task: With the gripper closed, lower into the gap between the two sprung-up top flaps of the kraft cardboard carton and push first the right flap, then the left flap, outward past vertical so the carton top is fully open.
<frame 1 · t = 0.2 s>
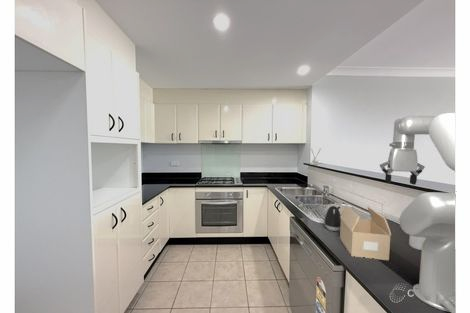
hand: (400, 183, 96), 36 cm above the worktop, tool pointing down, fingers open, 9 cm apart
right flap: (378, 219, 107), point 16 cm above the worktop, hinge at 70.0°
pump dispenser: (332, 229, 133), on the worktop
carton: (361, 248, 110), on the worktop
left flap: (348, 217, 110), point 16 cm above the worktop, hinge at 70.0°
milk bottle: (418, 247, 111), on the worktop
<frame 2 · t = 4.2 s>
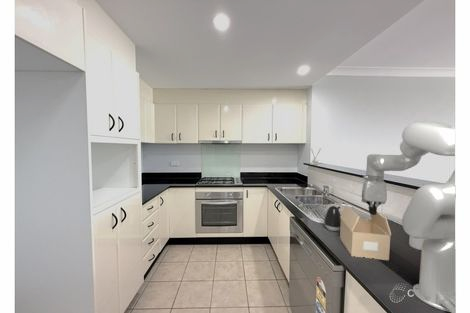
hand: (372, 214, 108), 19 cm above the worktop, tool pointing down, fingers closed
right flap: (378, 219, 107), point 16 cm above the worktop, hinge at 72.6°, touching gripper
everything else where it was.
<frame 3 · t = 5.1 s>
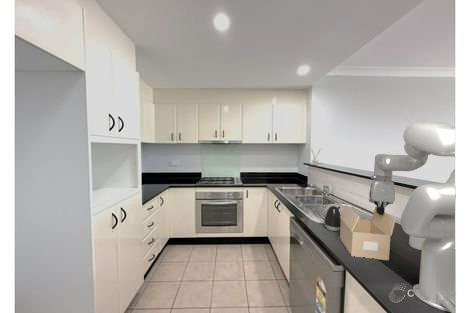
hand: (380, 214, 107), 19 cm above the worktop, tool pointing down, fingers closed
right flap: (382, 219, 107), point 16 cm above the worktop, hinge at 99.0°, touching gripper
everything else where it was.
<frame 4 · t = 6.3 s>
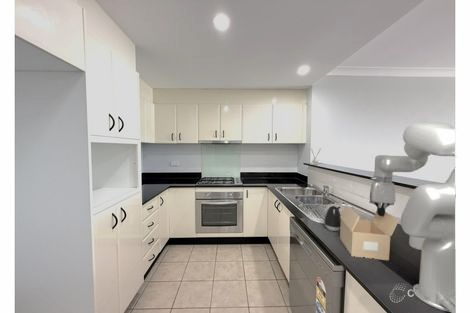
hand: (380, 215, 107), 18 cm above the worktop, tool pointing down, fingers closed
right flap: (384, 220, 107), point 16 cm above the worktop, hinge at 109.4°
everything else where it was.
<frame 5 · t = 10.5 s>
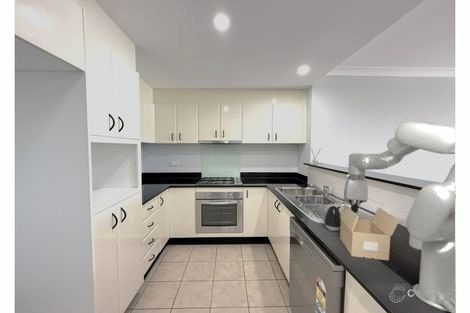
hand: (354, 212, 109), 19 cm above the worktop, tool pointing down, fingers closed
right flap: (384, 220, 107), point 16 cm above the worktop, hinge at 109.8°
left flap: (348, 217, 110), point 16 cm above the worktop, hinge at 73.9°, touching gripper
everything else where it was.
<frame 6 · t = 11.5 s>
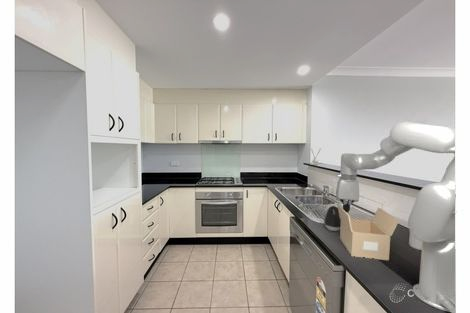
hand: (346, 211, 110), 19 cm above the worktop, tool pointing down, fingers closed
left flap: (344, 216, 110), point 16 cm above the worktop, hinge at 102.5°, touching gripper
everything else where it was.
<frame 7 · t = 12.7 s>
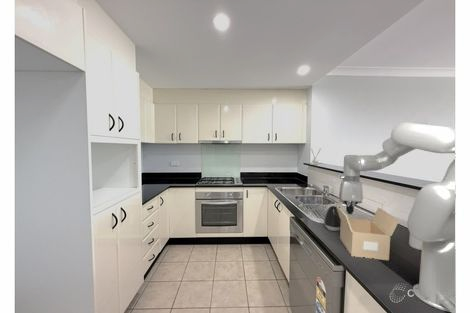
hand: (349, 213, 110), 18 cm above the worktop, tool pointing down, fingers closed
left flap: (343, 217, 111), point 16 cm above the worktop, hinge at 109.8°
everything else where it was.
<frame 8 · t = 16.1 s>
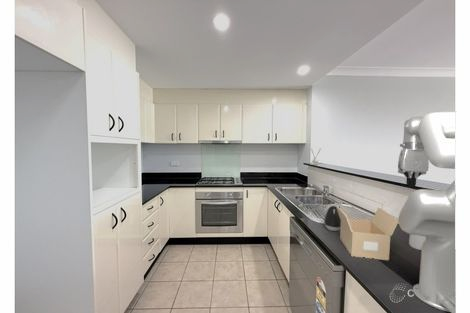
hand: (410, 186, 96), 35 cm above the worktop, tool pointing down, fingers closed
nothing on the worktop moved.
at the end: right flap at +110° (first picture: +70°); left flap at +110° (first picture: +70°) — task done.
